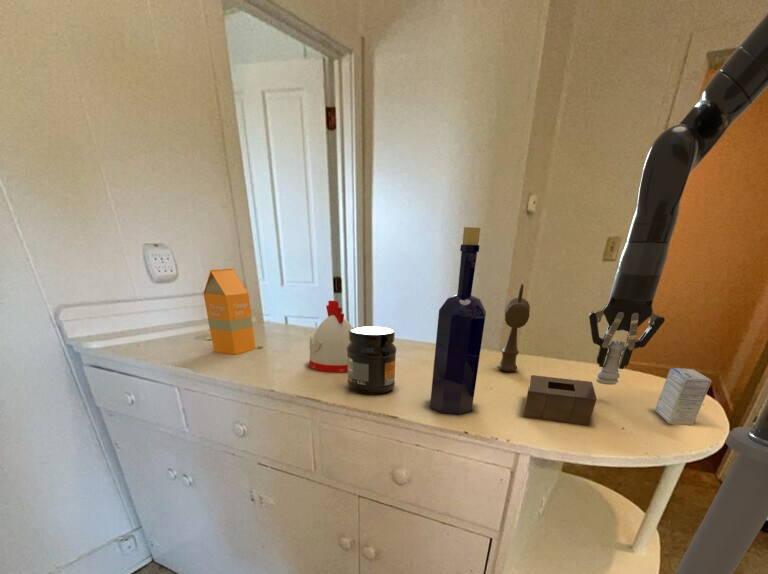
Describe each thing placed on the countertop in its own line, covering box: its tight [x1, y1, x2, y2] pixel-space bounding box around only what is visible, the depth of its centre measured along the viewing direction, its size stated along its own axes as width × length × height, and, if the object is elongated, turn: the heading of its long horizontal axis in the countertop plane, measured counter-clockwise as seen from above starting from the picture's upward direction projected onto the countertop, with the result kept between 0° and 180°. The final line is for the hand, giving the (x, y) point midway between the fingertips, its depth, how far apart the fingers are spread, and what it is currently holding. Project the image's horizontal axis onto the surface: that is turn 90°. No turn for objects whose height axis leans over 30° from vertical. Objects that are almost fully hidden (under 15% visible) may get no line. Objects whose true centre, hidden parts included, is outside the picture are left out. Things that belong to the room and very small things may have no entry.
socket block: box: [522, 374, 598, 426], centre depth 84 cm, size 12×12×5 cm
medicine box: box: [654, 367, 712, 427], centre depth 81 cm, size 8×4×9 cm, turn 170°
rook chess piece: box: [595, 340, 626, 386], centre depth 87 cm, size 4×4×8 cm
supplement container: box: [347, 326, 397, 395], centre depth 91 cm, size 10×10×12 cm
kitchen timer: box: [309, 300, 354, 373], centre depth 106 cm, size 14×14×15 cm
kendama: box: [497, 283, 531, 373], centre depth 105 cm, size 6×10×20 cm, turn 165°
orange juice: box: [202, 268, 256, 356], centre depth 115 cm, size 8×9×20 cm
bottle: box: [428, 226, 487, 416], centre depth 77 cm, size 9×9×30 cm
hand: (610, 366), depth 88 cm, fingers closed on rook chess piece, 3 cm apart
